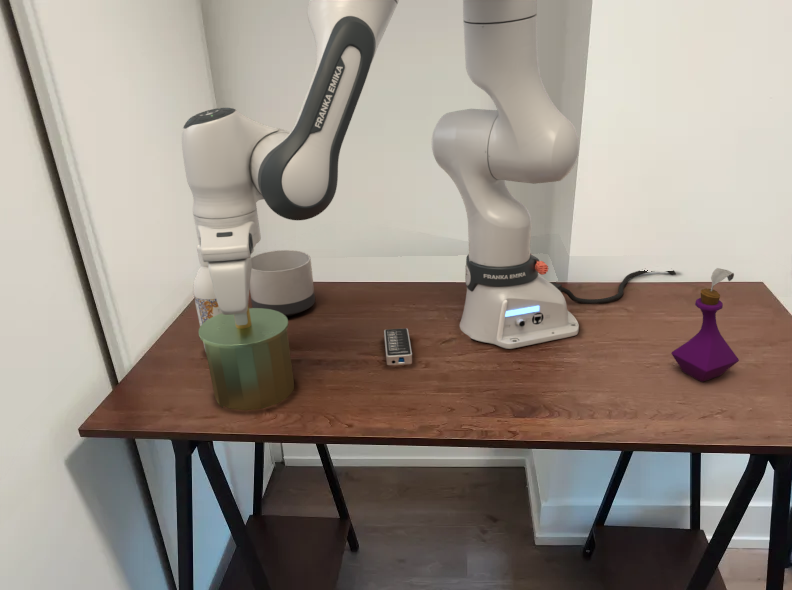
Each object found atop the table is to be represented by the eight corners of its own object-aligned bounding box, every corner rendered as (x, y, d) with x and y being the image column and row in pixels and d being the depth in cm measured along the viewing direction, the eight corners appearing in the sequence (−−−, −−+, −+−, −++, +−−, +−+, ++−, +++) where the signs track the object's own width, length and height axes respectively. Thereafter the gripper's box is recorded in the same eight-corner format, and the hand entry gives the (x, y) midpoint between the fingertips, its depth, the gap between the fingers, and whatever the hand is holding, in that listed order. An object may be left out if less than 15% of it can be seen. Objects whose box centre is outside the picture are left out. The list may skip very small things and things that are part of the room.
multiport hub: (408, 338, 128) (407, 327, 127) (412, 366, 118) (412, 354, 117) (384, 340, 128) (383, 329, 127) (387, 368, 118) (386, 356, 117)
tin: (293, 370, 118) (285, 309, 113) (295, 407, 108) (286, 342, 102) (219, 378, 117) (207, 316, 111) (213, 417, 106) (199, 350, 100)
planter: (284, 292, 150) (278, 246, 145) (328, 304, 143) (323, 256, 138) (240, 312, 141) (232, 264, 136) (284, 326, 134) (277, 276, 129)
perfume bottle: (702, 389, 109) (724, 283, 100) (667, 370, 115) (685, 268, 106) (735, 377, 112) (759, 273, 103) (699, 359, 118) (719, 259, 109)
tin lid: (288, 311, 113) (283, 278, 111) (290, 346, 102) (285, 311, 99) (203, 319, 111) (197, 286, 109) (195, 356, 100) (188, 320, 97)
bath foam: (212, 362, 122) (191, 254, 112) (200, 348, 127) (178, 244, 117) (249, 352, 125) (232, 246, 115) (236, 338, 130) (218, 236, 120)
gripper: (212, 212, 107) (226, 295, 114) (198, 254, 90) (216, 348, 96) (253, 209, 108) (264, 291, 115) (248, 250, 90) (262, 344, 97)
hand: (242, 318), depth 105 cm, fingers closed on tin lid, 2 cm apart
